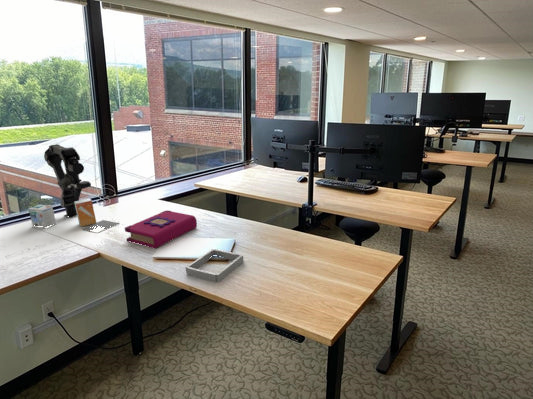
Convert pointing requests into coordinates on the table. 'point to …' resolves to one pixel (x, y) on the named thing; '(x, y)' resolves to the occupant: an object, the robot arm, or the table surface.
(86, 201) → the small box
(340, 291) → the table surface
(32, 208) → the light bulb box
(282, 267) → the table surface
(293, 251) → the table surface
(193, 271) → the frame
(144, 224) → the book
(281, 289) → the table surface
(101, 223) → the mat
